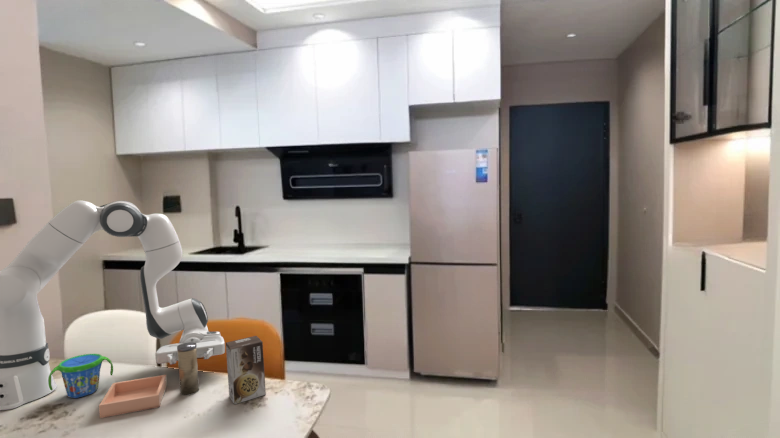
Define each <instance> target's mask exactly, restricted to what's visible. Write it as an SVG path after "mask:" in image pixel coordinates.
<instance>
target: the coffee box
mask: <svg viewBox="0 0 780 438" xmlns="http://www.w3.org/2000/svg"><path fill="white" fill-rule="evenodd" d="M263 343H264V342H263V341H262V340H261V338H259V337H258V336H257V335H252V336H249V337H245V338H241V339H236V340H235V339H234V340H232V341H228V342H225V353H226V367H227V381H228V382H227V383H228V396H229V398H230V400H231V402H232V403H233V405H237V404H240V403H244V402H247V401H250V400H253V399H256V398H259V397H263V396H265V395H266V394H267V391H266V390H267V389H266V378H265V377H266V376H265V360H264V359H265V358H264V344H263Z"/></svg>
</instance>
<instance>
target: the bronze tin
mask: <svg viewBox="0 0 780 438" xmlns="http://www.w3.org/2000/svg"><path fill="white" fill-rule="evenodd" d="M196 347H197V344H196V343H194V342H188V343H183V344H180V345H178V346H177V351H178V361H177V363H178V376H179V378H178V379H179V380H178V381H179V391H180V392H179V394H180V395H181V396H191V395H194V394H196V393H197V392H199V390H200V385H199V371H198V369H199V367H198V358H197V350H196Z"/></svg>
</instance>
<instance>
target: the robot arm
mask: <svg viewBox="0 0 780 438" xmlns="http://www.w3.org/2000/svg"><path fill="white" fill-rule="evenodd" d="M102 230H103V231H104V232H106V234H108V235H110V236H113V237H118V238H128V237H129V238H130V237H133V238H134V237H137V238H138V239H139V241H140V243H141V247H142V249H143V251H144V254H145V262H144V265H143V266H141V268H140V273H139V278H140V286H141V293H142V294H141V295H142V297H143V298H142V299H143V305H144V311H145V319H146V320H145V321H146V323H145V325H146V330H147V332H148V334H149V335H150V337H152V338H156V339H160V340H162V339H165V338H167V337H169V336H171V335H173V334H175V333H178V332H181V331H182V334H181V336H180V339H179V342H178V343H171V344H164V345H162V346H159V348H158V349H157V350H156V352H155V363H156V364H161V365H162V364H167V363H169V365H171V366H172V365H176V363H177V362H178V351H177V346H178V345H180V344H183V343H188V342H194V343H196V344H197V347H196V350H197V359H200V358H203V360H208V359H210V358H211V357H213V356H218V355H219V356H221V355H223V354H225V353H226V342H225V339H224V337H223V336H222V335H221V331H209V329H208V325H207V324H208V322H209V319H208V318H209V317H208V313H207V309H206V307H205V305H204V304H203V303H202V302H201V300H198V299H197V298H193V297H191V298H189V299H185V300H182V301H180V302H177V303H174V304H171V305H168V306H165V307H160V303H159V298H158V292H157V283H158V282H159V281H160V280H161V279H162V278H163V277H164V276H166V275H167V274H168V273H171V271H173V270H174V269H175V268H176V267H177V266H178V265H179V264H180V262H181V261H182V259H183V256H184V255H183V254H184V253H183V252H184V251H183V247H182V244H181V241H180V239H179V238H180V237H179V235H178V233H177V232H176V229H175V227H174V225H173V223H172V221H171V219H170V218H169V217H168V216H167V215H165V214H163V213H151V214H145V213H142V212H141V210H140V209H139V208H138V207H137V205H135V204H134V203H132V202H131V201H128V200H116V201H112V202H108V203H107V204H106V203H105V204H103V205H100V206H98V205H95V204H94V203H92V202H90V201H87V200H86V201H85V200H82V199H81V200H75V201H73V202H72V203H70V204H68V205H67V206H66V207H63V209H62V210H60V211H59V212H58V213H57V214H56V215H55V216H53V217H52V218H51V219H50V220H49V221H48V222H47V223H46V224H44V226H43V227H42V228H41V229H40V230H39V231H38V232H37V233H36V234H35V235H34V236H33V237H32V238H31V239H30V240H29V241H28V242H27V244H26V245H25V246H24V247H23V249H21V251H20V252H19V253H18V254H17V255H16V257H15V258H14V259H13V260H12V261H11V262H10V263H9V265H7V266H5V267H4V268H3V269H1V270H0V411H5V410H12V409H16V408H18V407H21V406H23V405H24V404H27V403H30V402H32V401H36V400H39V399H41V398H43V397H44V396H48V395H49V394H50V393H52V392H54V391H55V390H56V389H57V387H58V385H57V383H56V381H55V378H54V376H53V374H52V375H51V385H52V389H53V390H50V388H49V383H48V378H49V375H50V373H51V371H52V370H51V367H50V357H51V356H50V354H51V353H50V349H49V343H48V342H47V340H46V339H47V338H46V328H45V318H44V316H43V314H42V311H41V308H40V304H39V300H38V294H39V293H40V292H41V291H42V290H43V289H44V288H45V287H46V285H48V283H49V282H50V281H51V280H52V279H53V278H54V277H55V276H56V274H57V273H58V272H59V271H60V270H61V269H62V268H63V266H65V265H66V264H67V262H68V261H69V260H70V259H71V258H72V257H73V256H74V255H75V254H76V252H78V251H79V250H80V249H81V248H82V247H83V246H84V244H85V243H87V241H88V240H89V239H90V238H91V237H92V236H93V235H94V234H96V233H97V232H99V231H102Z"/></svg>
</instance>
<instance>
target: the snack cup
mask: <svg viewBox="0 0 780 438" xmlns="http://www.w3.org/2000/svg"><path fill="white" fill-rule="evenodd" d="M104 361H107V362H108V363H109V364H110V372H109V373H110V376H113V373H114V366H113V362H112V360H111V359H110V358H109V357H108V356H104V355H102V354H100V353H87V354H86V353H85V354H80V355H76V356H72V357H70V358H67V359H64V360H63V361H61V362H60V363H58V365H57V366H56V367H54V368H53V369H52V370H51V373H50V375H49V378H48V383H49V388H50V390H53V389H52V385H51V375H52V376H53V374H55V372H57V371H59V372H61V377H62V381H63V384H64V388H65V392H66V395H67V397H69V398H71V399H72V398H74V399H78V398H82V397H86V396H87V395H92V394H94V393H95V392H96V391H97V390H98V389H99V385H100V376H101V375H100V374H101V368H102V364H103V362H104ZM53 391H54V390H53Z"/></svg>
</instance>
